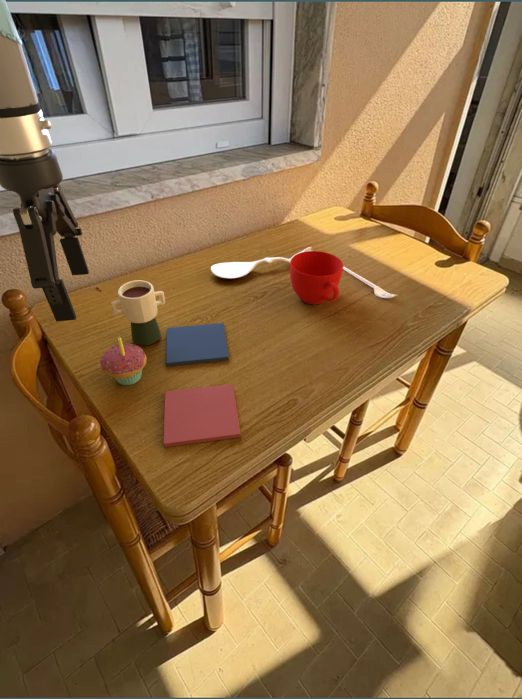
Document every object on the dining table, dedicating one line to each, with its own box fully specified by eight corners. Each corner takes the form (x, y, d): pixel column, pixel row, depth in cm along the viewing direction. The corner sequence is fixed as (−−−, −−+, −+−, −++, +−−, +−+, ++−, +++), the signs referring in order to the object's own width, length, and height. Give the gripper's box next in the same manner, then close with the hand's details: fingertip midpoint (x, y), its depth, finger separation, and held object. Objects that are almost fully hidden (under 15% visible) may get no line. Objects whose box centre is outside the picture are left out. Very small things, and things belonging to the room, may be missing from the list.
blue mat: (166, 366, 79) (165, 363, 78) (167, 331, 88) (167, 327, 87) (228, 360, 81) (228, 356, 80) (223, 326, 90) (223, 322, 89)
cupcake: (157, 379, 76) (146, 332, 68) (117, 399, 72) (100, 352, 64) (138, 357, 81) (126, 311, 73) (99, 374, 77) (82, 327, 69)
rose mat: (164, 447, 64) (163, 443, 63) (165, 394, 73) (165, 391, 72) (240, 437, 66) (240, 433, 65) (233, 387, 75) (232, 383, 74)
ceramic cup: (308, 325, 90) (313, 289, 84) (279, 289, 102) (281, 255, 96) (355, 314, 94) (363, 278, 88) (322, 280, 106) (326, 247, 99)
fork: (346, 267, 112) (347, 261, 110) (397, 300, 99) (399, 294, 98) (337, 270, 110) (338, 264, 109) (388, 304, 98) (390, 297, 96)
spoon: (322, 269, 111) (324, 258, 109) (215, 286, 103) (214, 274, 101) (310, 255, 117) (311, 245, 115) (208, 270, 109) (207, 259, 107)
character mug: (166, 323, 90) (157, 275, 82) (175, 341, 85) (166, 291, 77) (119, 335, 86) (105, 286, 78) (125, 354, 82) (110, 304, 73)
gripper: (28, 181, 39) (87, 340, 53) (70, 129, 58) (106, 257, 72) (-53, 185, 38) (29, 346, 52) (17, 130, 56) (64, 260, 70)
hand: (74, 294), depth 62 cm, fingers open, 13 cm apart
